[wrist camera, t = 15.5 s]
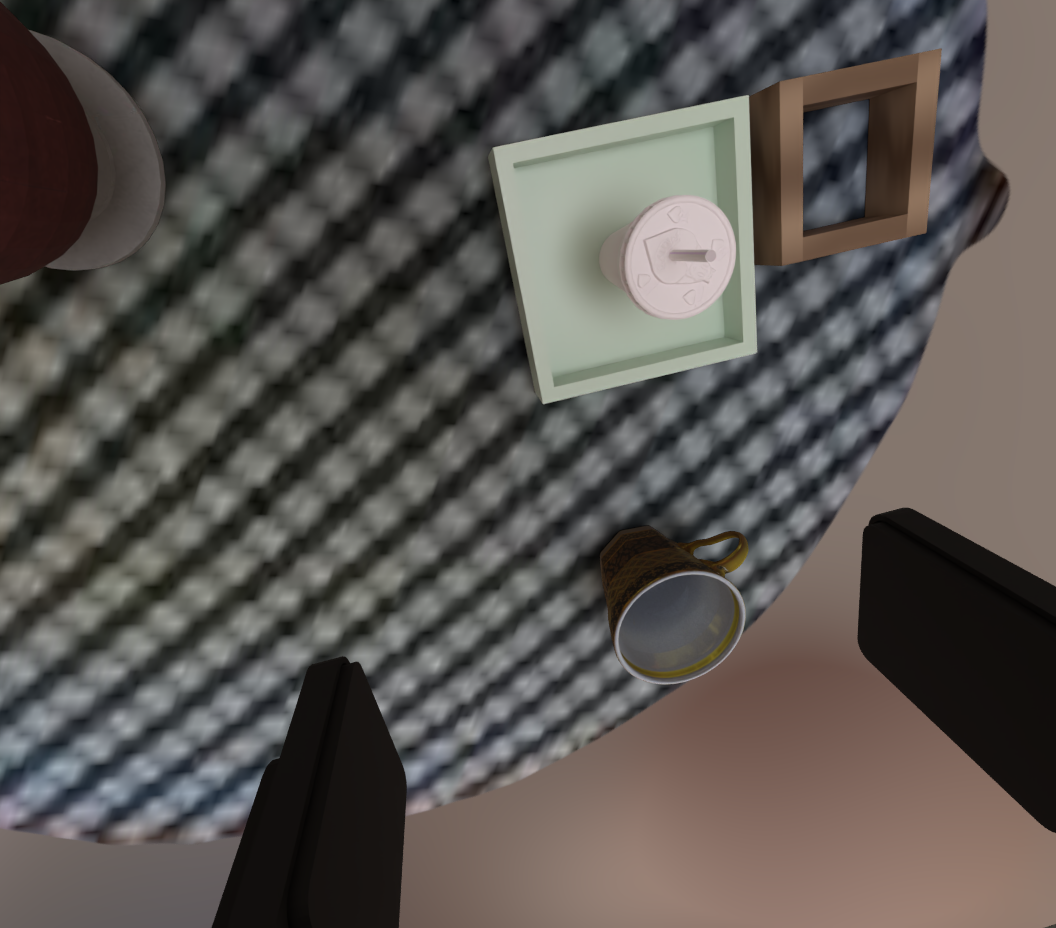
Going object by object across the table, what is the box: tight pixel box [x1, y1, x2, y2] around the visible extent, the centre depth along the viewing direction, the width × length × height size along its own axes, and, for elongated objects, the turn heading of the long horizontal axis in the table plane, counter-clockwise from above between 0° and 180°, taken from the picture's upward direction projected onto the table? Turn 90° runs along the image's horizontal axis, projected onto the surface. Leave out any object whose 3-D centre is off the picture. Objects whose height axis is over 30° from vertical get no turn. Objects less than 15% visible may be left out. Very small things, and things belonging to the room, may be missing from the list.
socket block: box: [749, 49, 942, 266], centre depth 37 cm, size 11×11×4 cm
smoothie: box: [599, 195, 736, 320], centre depth 31 cm, size 6×6×14 cm
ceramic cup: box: [600, 526, 748, 684], centre depth 43 cm, size 13×10×10 cm
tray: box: [488, 95, 757, 404], centre depth 37 cm, size 16×16×4 cm
